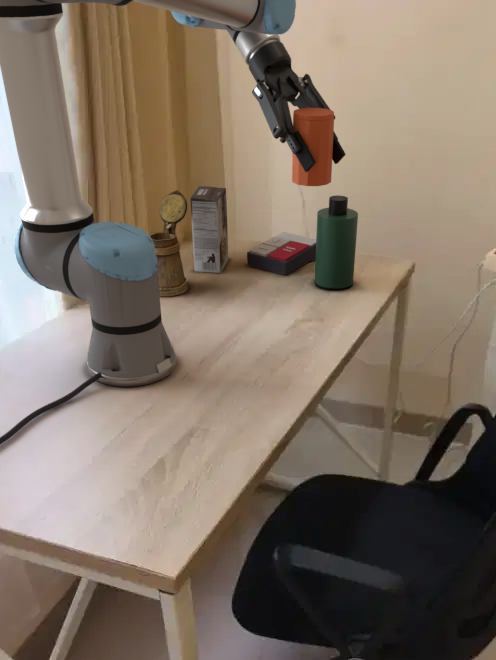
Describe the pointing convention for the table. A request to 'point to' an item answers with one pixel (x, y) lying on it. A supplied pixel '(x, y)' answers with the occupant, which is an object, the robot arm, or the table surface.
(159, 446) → the table surface
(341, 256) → the flask
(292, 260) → the red and grey box
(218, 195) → the coffee box
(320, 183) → the cap
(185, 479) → the table surface
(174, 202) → the wooden mug
